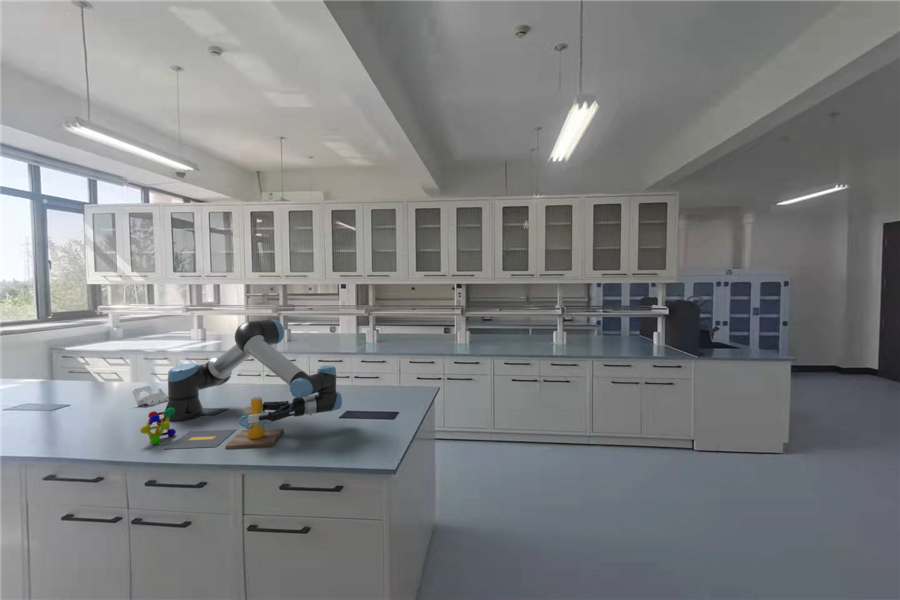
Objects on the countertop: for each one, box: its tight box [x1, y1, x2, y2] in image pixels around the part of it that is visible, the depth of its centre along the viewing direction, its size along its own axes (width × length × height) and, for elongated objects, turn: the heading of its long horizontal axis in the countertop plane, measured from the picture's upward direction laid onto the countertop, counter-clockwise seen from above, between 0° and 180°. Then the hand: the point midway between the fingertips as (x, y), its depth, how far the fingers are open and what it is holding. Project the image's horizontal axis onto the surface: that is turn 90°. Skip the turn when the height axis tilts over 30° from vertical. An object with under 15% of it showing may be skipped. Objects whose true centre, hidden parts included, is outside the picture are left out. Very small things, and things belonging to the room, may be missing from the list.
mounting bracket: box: [131, 385, 168, 407], centre depth 201 cm, size 12×6×11 cm, turn 169°
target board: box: [225, 428, 284, 450], centre depth 153 cm, size 16×16×1 cm
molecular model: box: [140, 408, 177, 445], centre depth 152 cm, size 12×7×12 cm, turn 0°
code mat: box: [163, 429, 236, 450], centre depth 153 cm, size 18×18×1 cm
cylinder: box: [238, 396, 273, 439], centre depth 153 cm, size 12×10×15 cm
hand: (246, 414), depth 151 cm, fingers open, 13 cm apart
